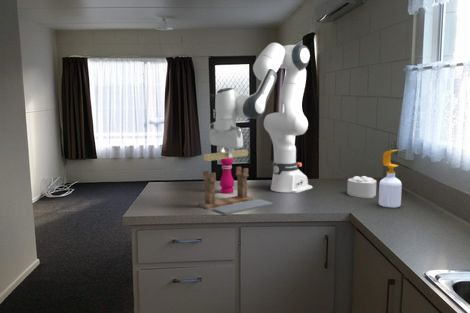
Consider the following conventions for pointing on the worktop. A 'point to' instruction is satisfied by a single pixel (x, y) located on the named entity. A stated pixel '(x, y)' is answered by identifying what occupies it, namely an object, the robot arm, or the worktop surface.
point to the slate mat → (242, 206)
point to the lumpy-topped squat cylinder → (362, 187)
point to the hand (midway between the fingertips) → (226, 156)
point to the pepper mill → (227, 176)
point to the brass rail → (224, 155)
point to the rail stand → (213, 203)
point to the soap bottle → (390, 185)
